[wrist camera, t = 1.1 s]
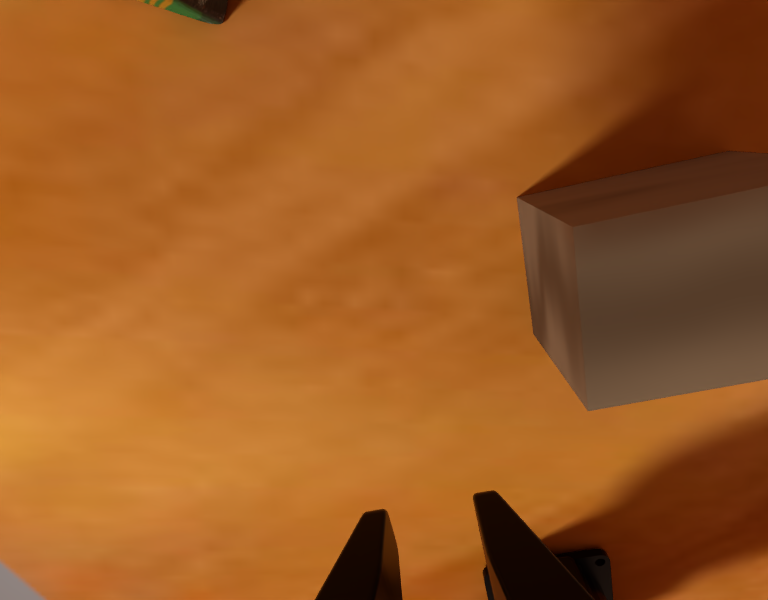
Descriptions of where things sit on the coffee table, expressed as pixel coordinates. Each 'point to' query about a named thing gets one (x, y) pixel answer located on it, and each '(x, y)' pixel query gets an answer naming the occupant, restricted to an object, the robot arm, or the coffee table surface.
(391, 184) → the coffee table surface
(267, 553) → the coffee table surface
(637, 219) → the walnut brick
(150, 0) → the chalk box
